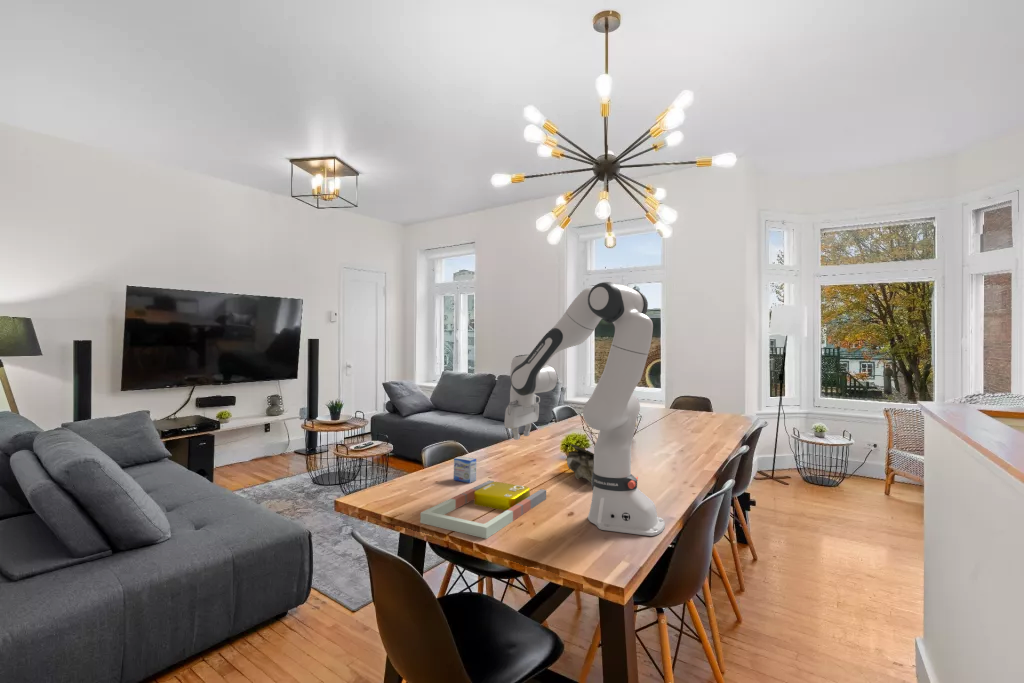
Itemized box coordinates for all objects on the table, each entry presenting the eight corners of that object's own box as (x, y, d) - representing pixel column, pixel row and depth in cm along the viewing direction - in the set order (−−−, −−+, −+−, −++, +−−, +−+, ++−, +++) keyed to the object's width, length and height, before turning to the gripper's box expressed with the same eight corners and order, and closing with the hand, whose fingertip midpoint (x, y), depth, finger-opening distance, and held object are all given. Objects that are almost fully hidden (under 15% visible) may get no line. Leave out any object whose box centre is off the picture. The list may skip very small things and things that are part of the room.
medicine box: (453, 480, 187) (453, 458, 187) (459, 477, 191) (459, 455, 191) (470, 483, 183) (470, 460, 183) (476, 480, 187) (476, 458, 187)
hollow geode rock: (572, 481, 205) (549, 456, 202) (591, 458, 208) (569, 434, 205) (603, 499, 178) (577, 472, 175) (625, 473, 181) (600, 446, 178)
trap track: (546, 498, 166) (546, 490, 166) (486, 538, 132) (486, 527, 132) (489, 488, 177) (489, 480, 177) (420, 522, 143) (420, 512, 143)
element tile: (493, 493, 173) (493, 479, 173) (531, 499, 166) (531, 485, 166) (471, 505, 160) (471, 490, 160) (511, 513, 153) (512, 497, 153)
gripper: (516, 403, 164) (515, 443, 164) (542, 397, 182) (541, 433, 182) (500, 401, 167) (499, 441, 167) (527, 396, 185) (526, 432, 185)
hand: (521, 437), depth 175 cm, fingers open, 6 cm apart
